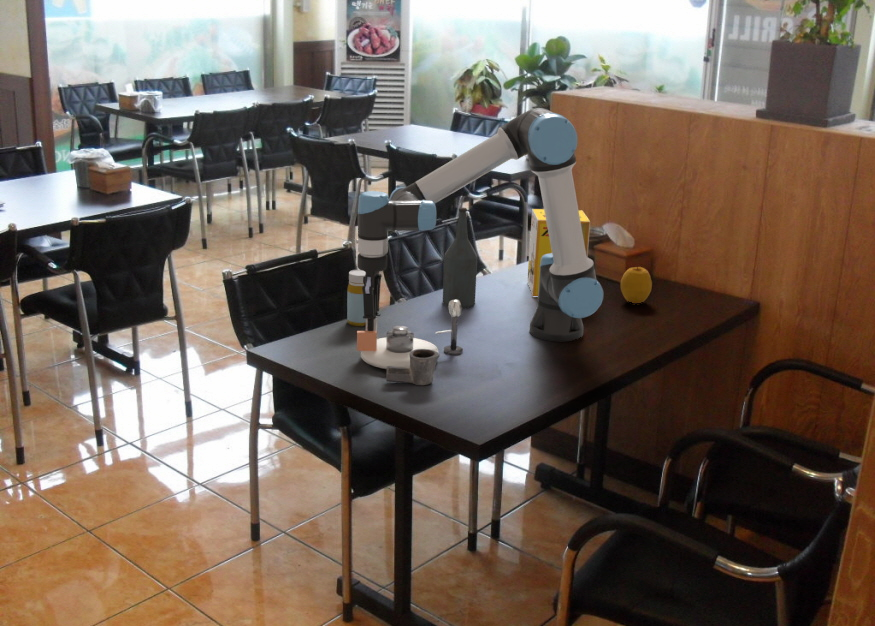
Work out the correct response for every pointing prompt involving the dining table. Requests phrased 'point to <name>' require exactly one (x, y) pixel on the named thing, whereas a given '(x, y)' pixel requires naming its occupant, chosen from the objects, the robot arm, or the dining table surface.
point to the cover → (399, 340)
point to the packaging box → (546, 244)
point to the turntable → (385, 350)
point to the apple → (636, 284)
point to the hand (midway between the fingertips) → (371, 341)
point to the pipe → (415, 368)
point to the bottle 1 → (355, 298)
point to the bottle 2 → (460, 267)
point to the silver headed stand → (453, 328)
